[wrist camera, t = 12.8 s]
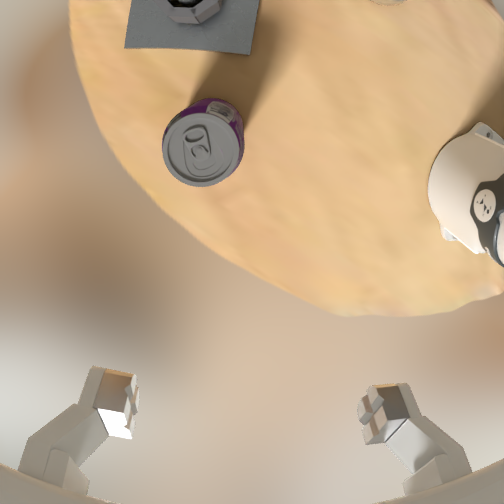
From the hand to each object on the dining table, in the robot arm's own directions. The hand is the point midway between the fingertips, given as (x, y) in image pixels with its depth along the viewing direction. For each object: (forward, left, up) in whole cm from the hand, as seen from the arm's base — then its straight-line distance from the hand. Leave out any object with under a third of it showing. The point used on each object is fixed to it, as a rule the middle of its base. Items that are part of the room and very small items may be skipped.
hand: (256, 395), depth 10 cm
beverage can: (+4, -3, -31) cm, 32 cm away
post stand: (+8, -18, -31) cm, 37 cm away
